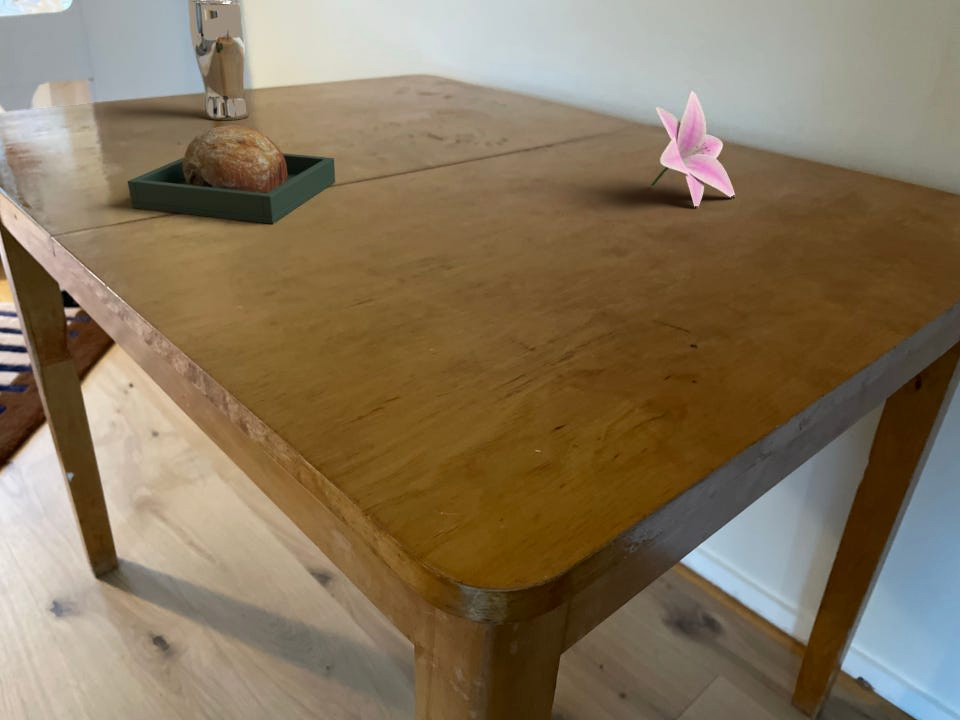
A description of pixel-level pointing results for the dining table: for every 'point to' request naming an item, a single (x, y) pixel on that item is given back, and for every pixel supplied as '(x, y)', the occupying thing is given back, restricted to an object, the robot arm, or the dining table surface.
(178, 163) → the dark green square tray
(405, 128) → the dining table surface
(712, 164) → the lily
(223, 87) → the beer glass
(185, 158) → the bread roll
